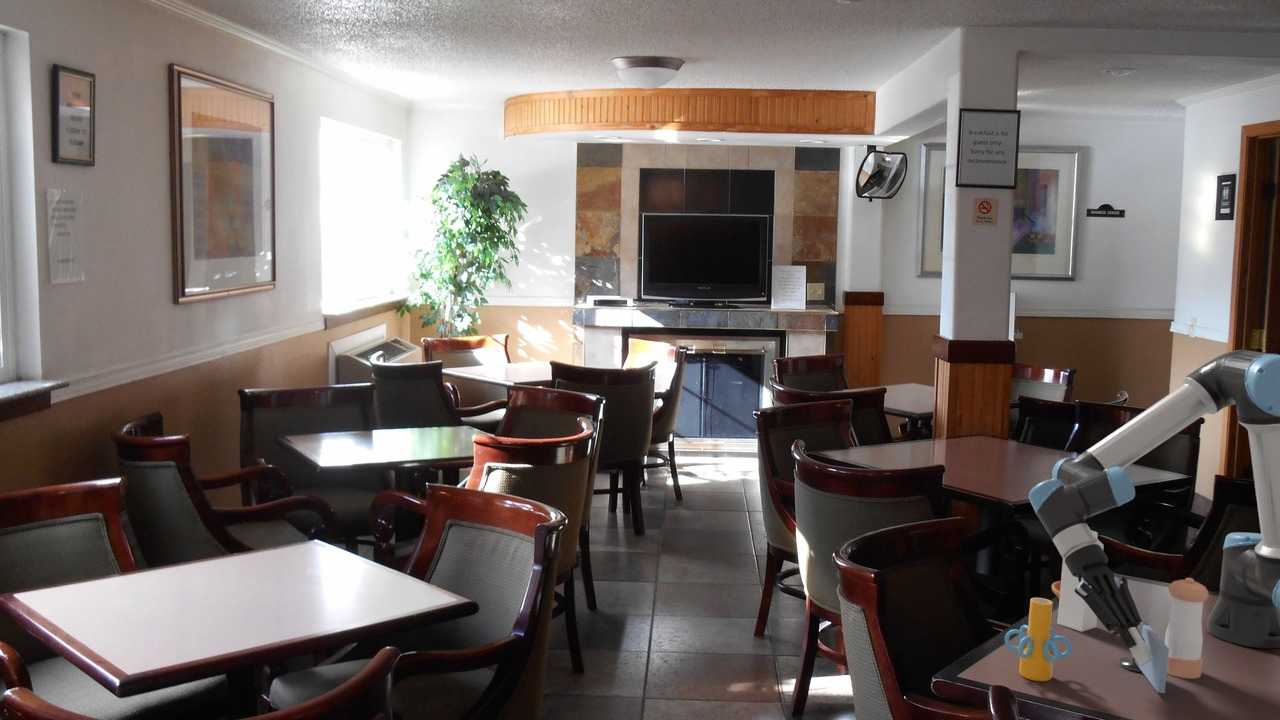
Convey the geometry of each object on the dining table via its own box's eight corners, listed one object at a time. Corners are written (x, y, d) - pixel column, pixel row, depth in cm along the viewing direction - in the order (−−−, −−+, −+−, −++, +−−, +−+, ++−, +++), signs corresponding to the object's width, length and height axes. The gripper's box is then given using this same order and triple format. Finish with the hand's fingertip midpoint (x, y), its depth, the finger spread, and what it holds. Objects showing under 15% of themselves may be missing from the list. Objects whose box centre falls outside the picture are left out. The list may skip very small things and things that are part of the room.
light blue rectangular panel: (1134, 662, 211) (1138, 620, 210) (1141, 662, 211) (1145, 621, 210) (1157, 692, 196) (1161, 648, 195) (1164, 693, 196) (1169, 648, 195)
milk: (1081, 632, 231) (1090, 534, 229) (1056, 623, 236) (1064, 527, 234) (1096, 627, 235) (1105, 530, 233) (1071, 618, 240) (1080, 524, 237)
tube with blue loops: (1067, 671, 208) (1073, 597, 207) (1070, 691, 199) (1077, 614, 197) (1002, 661, 212) (1008, 588, 211) (1001, 680, 202) (1008, 604, 201)
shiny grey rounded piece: (1132, 659, 216) (1134, 642, 216) (1158, 670, 211) (1160, 652, 211) (1112, 663, 214) (1114, 646, 213) (1138, 674, 208) (1140, 657, 208)
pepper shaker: (1185, 681, 206) (1195, 585, 204) (1152, 667, 213) (1161, 574, 211) (1209, 675, 209) (1218, 581, 208) (1175, 662, 216) (1184, 571, 214)
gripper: (1090, 557, 217) (1155, 665, 204) (1046, 564, 211) (1110, 675, 198) (1115, 539, 212) (1183, 648, 199) (1070, 545, 206) (1137, 658, 193)
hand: (1146, 662), depth 199 cm, fingers closed
